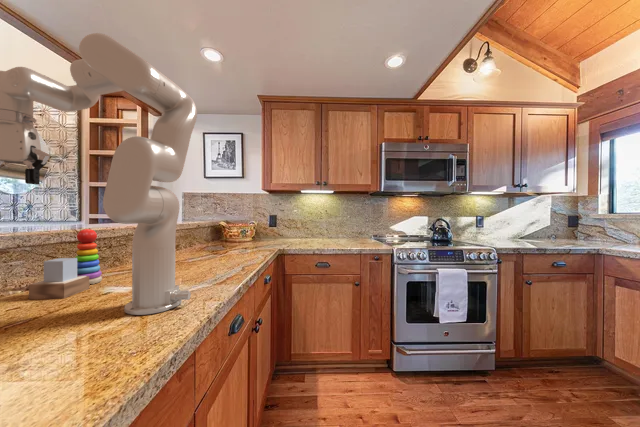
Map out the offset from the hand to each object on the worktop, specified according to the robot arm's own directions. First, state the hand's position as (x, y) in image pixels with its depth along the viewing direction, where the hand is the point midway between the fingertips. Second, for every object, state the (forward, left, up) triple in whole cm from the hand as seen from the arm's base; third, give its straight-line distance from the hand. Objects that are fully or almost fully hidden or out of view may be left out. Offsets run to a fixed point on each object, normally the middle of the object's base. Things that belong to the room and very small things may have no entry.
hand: (12, 183), depth 69 cm
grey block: (-7, -6, -28) cm, 30 cm away
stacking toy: (-6, -17, -32) cm, 37 cm away
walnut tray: (-7, -6, -32) cm, 34 cm away
